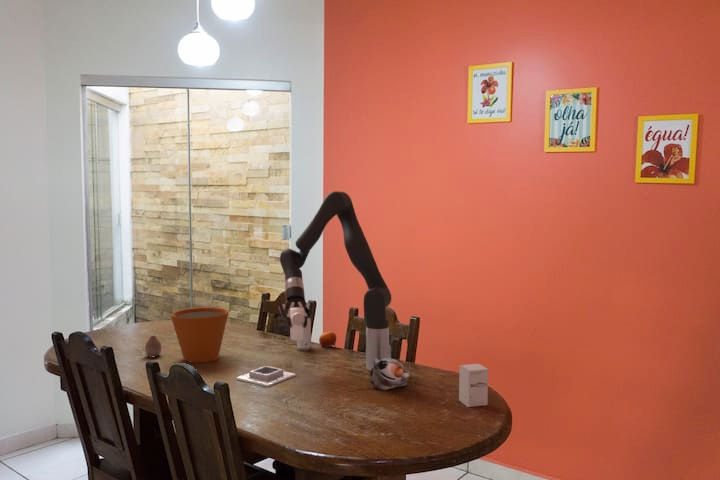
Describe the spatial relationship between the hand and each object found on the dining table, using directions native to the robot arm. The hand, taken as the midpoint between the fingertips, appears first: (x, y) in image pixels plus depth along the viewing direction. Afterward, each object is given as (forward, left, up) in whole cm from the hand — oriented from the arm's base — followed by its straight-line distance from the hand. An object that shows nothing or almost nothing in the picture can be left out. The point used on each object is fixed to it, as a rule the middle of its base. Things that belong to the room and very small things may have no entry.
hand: (297, 326), depth 235 cm
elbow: (0, 0, -5) cm, 5 cm away
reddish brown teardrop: (+71, +12, -20) cm, 75 cm away
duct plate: (+9, +8, -19) cm, 23 cm away
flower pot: (+51, +3, -20) cm, 55 cm away
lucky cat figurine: (-37, -8, -20) cm, 43 cm away
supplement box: (-69, -9, -20) cm, 72 cm away
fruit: (+17, -43, -20) cm, 50 cm away
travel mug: (+23, -33, -20) cm, 44 cm away
